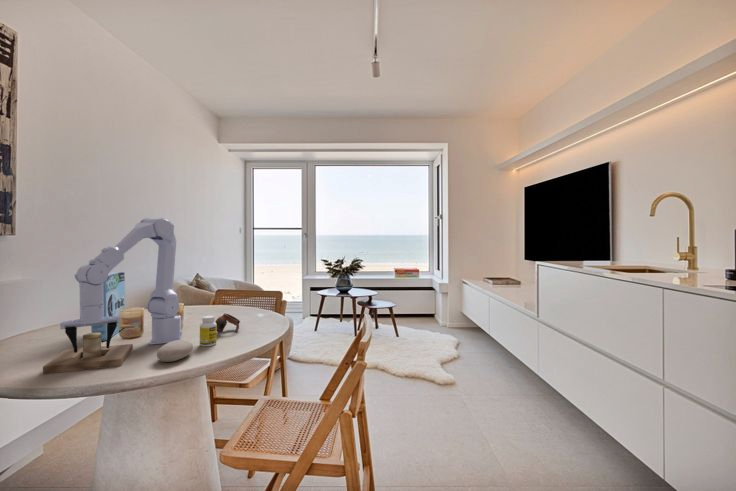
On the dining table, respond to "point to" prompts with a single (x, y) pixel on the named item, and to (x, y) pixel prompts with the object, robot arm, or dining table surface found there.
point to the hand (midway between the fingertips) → (92, 349)
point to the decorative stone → (174, 350)
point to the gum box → (112, 301)
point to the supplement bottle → (208, 331)
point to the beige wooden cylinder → (92, 345)
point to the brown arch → (223, 320)
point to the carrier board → (88, 359)
